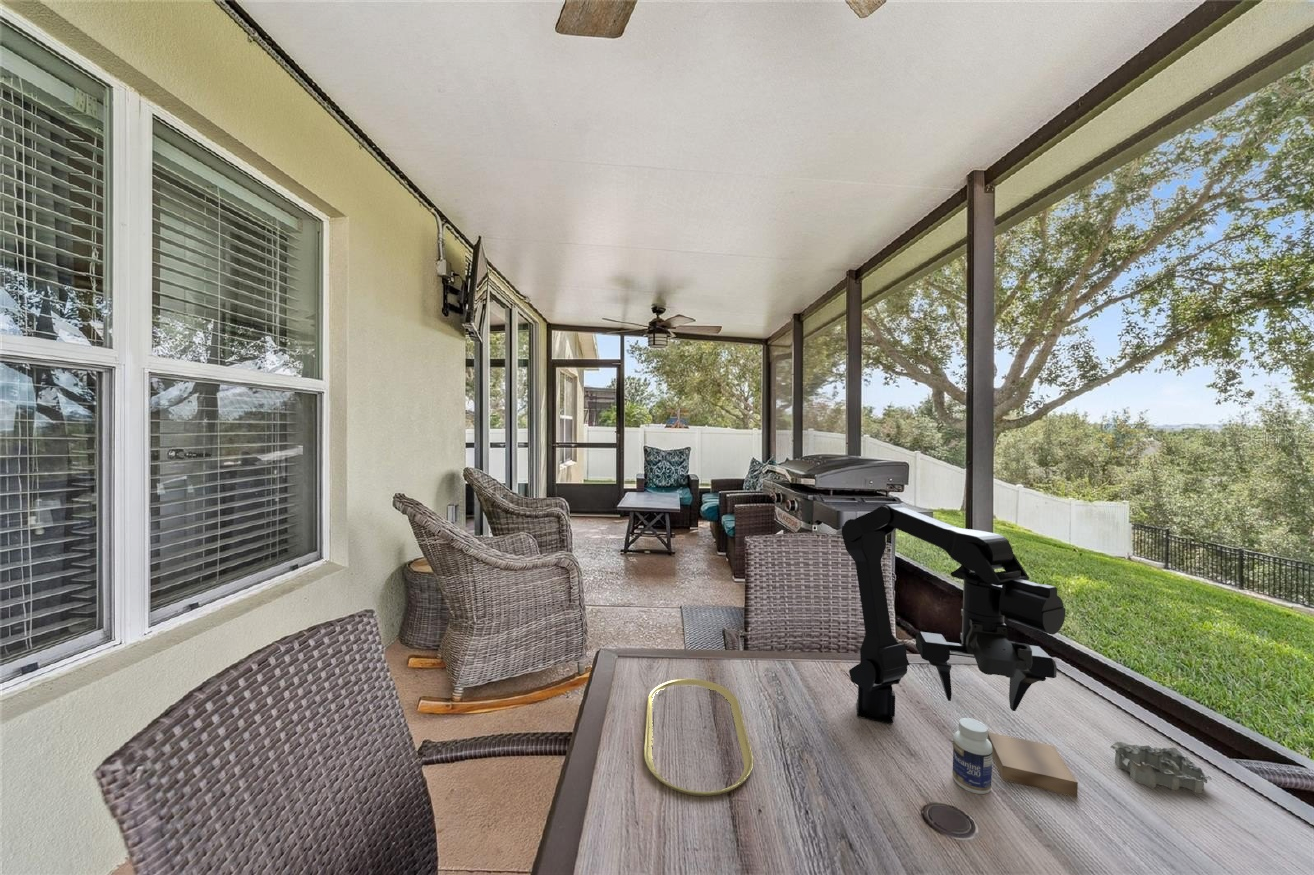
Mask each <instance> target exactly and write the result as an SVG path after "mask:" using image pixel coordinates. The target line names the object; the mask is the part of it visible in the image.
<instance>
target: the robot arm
mask: <svg viewBox="0 0 1314 875" xmlns="http://www.w3.org/2000/svg"><path fill="white" fill-rule="evenodd" d="M895 530H898V531H901V532H903V533H905V534H908V535H910V536H912V537H914V538H917V539H919V540H921V541H924V542H926V543H929V544H931V545H933V546H936V547H938V548H940V549H941V550H943V551H945V552H946V553H947V554H948V555H949V557H950V559H951V560H954V561H955V562H956V563H958V564H959V565H960V566H959V567H958V568H957V569H955V570H953V571H952V572H950V576H951V577H952V578H957V579H960V580H963V588H962V589H963V593H962V594H963V595H962V596H963V597H962V608H961V609H960V611H961V612H960V616H962V625H961V632H960V634H959V635H960V637H959V639H960V640H961V643H958V642H949V641H947V640H946V639H945V637H944V636H943V634H941V633H933V632H925V631H919V632H918V633H917V634H916V636H915V648H916V649H917V651H918V653H919V655H920V657H921V659H923V660H924V661H928V662H929V664H930V665H932V666H933V667H936V670H937V672H938V676H939V678H940V682H941V685H942V688H943V691H944V694H945V697H946V699H947V701H948V702H951V701H952V682H951V669H952V665H951V663H950V662H949V660H950V659H951V658H950V657H951V656H956V657H957V656H958V657H965V658H972V659H975V661H976V664H977V668H978V671H980V672H981V673H982V674H985V675H989V676H992V675H995V676H1001V677H1006V678H1009V688H1008V689H1009V691H1008V697H1009V698H1008V699H1009V700H1008V702H1009V708H1010V710H1011V711H1012V712H1016V711H1017V709H1018V707H1019V705H1020V703H1021V702H1022V699H1023V698H1024V696H1025V694H1026V693H1027V691H1028V690H1029V688H1030V687H1031V686H1032V685H1033V684H1034V683H1037V682H1045V681H1047V678H1049V679H1055V678H1057V670H1058V669H1057V668H1058V667H1057V663H1056V661H1055V659H1053V658H1052V656H1050V655H1049V654H1048V653H1047V652H1046V651H1045V650H1044V649H1043V648H1041V646H1039V645H1030V644H1028V643H1019V642H1015V641H1011V640H1010V638H1009V635H1008V628H1007V627H1008V625H1007V624H1006V623H1005V618H1006V620H1008V621H1010V622H1012V623H1015V624H1016V623H1017V624H1019V625H1021V626H1025V627H1027V628H1031V629H1034V630H1037V631H1040V632H1043V633H1046V634H1048V635H1052V636H1053V635H1055V634H1057V633H1058V632H1059V631H1060V630H1061V629H1062V627H1063V625H1064V622H1065V620H1066V619H1065V618H1066V610H1067V609H1066V608H1065V607H1064V602H1063V600H1062V598H1061V596H1059V595H1058V587H1057V586H1054V585H1051V584H1050V585H1049V584H1044V583H1043V584H1041V583H1038V582H1034V581H1030V577H1029V575H1028V573H1027V572H1026V570H1025V569H1024V568H1023V566H1022V565H1021V563H1020V561H1019V560H1018V559H1017V557H1016V555H1015V553H1014V551H1013V547H1012V545H1011V544H1010V542H1009V539H1008V538H1006V536H1003V535H1002V534H999V533H994V532H989V531H986V530H985V531H984V530H980V529H979V530H978V529H971V528H969V529H968V528H964V527H963V528H962V527H958V526H955V525H952V524H949V523H947V522H944V521H941V520H939V519H936V518H934V517H931V516H928V515H926V514H923V513H920V512H919V511H915V510H913V509H909V508H907V507H906V506H903V505H902V504H900V503H890V504H888V503H887V504H882V505H880V506H879V507H877V508H875V509H874V510H871V511H870V512H867V513H865V514H862V515H860V516H857V517H856V518H850V519H847V520H846V521H845V522H844V523H843V525H842V526H841V535H842V541H843V543H844V547H845V550H846V551H847V553H848V554H849V556H850V557H851V559H852V560H853V561H854V564H855V568H856V570H855V571H856V575H857V576H856V577H857V583H858V590H859V596H860V603H861V604H860V605H861V610H862V617H863V624H864V630H865V635H864V638H863V640H862V643H861V646H860V648H859V649H860V650H859V654H860V655H859V656H860V660H859V663H858V664H856V665H854V666H853V667H852V668H850V669H849V670H848V674H849V677H850V681H851V682H852V683H853V684H855V685H857V699H856V717H858V718H860V719H861V718H862V719H867V720H872V721H877V722H881V723H886V724H889V725H891V724H892V725H893V723H894V722H893V721H894V719H893V718H894V717H896V716H895V715H896V694H895V693H896V692H895V691H894V690H893V685H899V684H900V682H901V679H902V678H904V677H905V675H907V674H908V666H910V662H909V660H908V657H907V647H906V644H905V643H899V642H898V640H897V638H896V637H895V636H894V634H893V632H892V625H891V619H890V612H889V605H888V599H887V594H886V593H887V592H886V585H885V581H884V573H883V568H882V566H883V565H882V559H883V557H884V553H885V551H886V548H887V538H886V536H889V535H890V534H892V533H893V532H895ZM1000 569H1003V570H1001V571H996V570H1000Z"/></svg>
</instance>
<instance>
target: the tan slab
mask: <svg viewBox="0 0 1314 875" xmlns="http://www.w3.org/2000/svg"><path fill="white" fill-rule="evenodd" d="M987 739H988V740H989V741H990V743H991V744H992V750H993V751H992V760H993V761H994V764H995V766H996V768H997V770H998V773H999V776H1000V777H1001V780H1002V781H1006V782H1010V783H1013V784H1014V783H1015V784H1018V785H1022V786H1025V787H1026V786H1027V787H1031V788H1036V789H1040V790H1044V791H1047V792H1048V791H1049V792H1052V793H1057V794H1062V795H1066V796H1070V797H1074V798H1078V794H1079V793H1078V788H1079V787H1078V786H1079V785H1078V784H1079V782H1078V780H1077V779H1076V777H1075V776H1074V774H1073V773H1072V771H1071V769H1070V768H1069V767H1068V765H1067V763H1066V762H1065V761H1064V759H1063V757H1062V756H1061V755H1060V753H1059V750H1057V748H1056V747H1055V745H1052V744H1049V743H1044V742H1038V741H1034V740H1028V739H1024V738H1020V737H1014V736H1010V735H1006V734H1005V735H1004V734H1001V733H996V732H995V733H994V732H992V731H991V732H990V731H988V737H987Z"/></svg>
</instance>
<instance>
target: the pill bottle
mask: <svg viewBox="0 0 1314 875" xmlns="http://www.w3.org/2000/svg"><path fill="white" fill-rule="evenodd" d="M988 732H989V728H988V726H987V725H986V724H984V723H983V722H981V721H980V720H977V719H974V718H969V717H963V718H962V717H961V718H960V719H959V720H958V730H957V731H956V732H954V733H953V734H954V735H953V743H952V744H953V747H952V748H953V750H952V778H953V780H954V782H955V784H957V785H958V786H960V788H962V789H964V790H965V791H968V792H969V793H974V794H977V795H983V794H984V795H985V794H988V793H989V792H991V789H992V779H993V778H992V774H993V772H992V771H993V757H992V751H993V750H992V744H991V743H990V741H989V740H988V739H987V737H988Z"/></svg>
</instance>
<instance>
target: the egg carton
mask: <svg viewBox="0 0 1314 875" xmlns="http://www.w3.org/2000/svg"><path fill="white" fill-rule="evenodd" d="M1110 749H1111V750H1115V751H1114V752H1115V754H1114V756H1115V757H1114V764H1115V766H1116V767H1117V768H1119V769H1122V770H1124V771H1127V772H1129V774H1130V777H1129V778H1130V779H1131V780H1133V781H1134V782H1136V783H1139V784H1142V785H1143V786H1146V787H1148V788H1155V789H1156V786H1157V785H1161V786H1164V787H1167V788H1168V789H1170V790H1172V791H1173V790H1174V791H1178V790H1179V788H1180V787H1181V788H1185V789H1189V790H1191V791H1193V792H1194V793H1198V794H1199V793H1200V794H1201V793H1203V790H1204V789H1205V784H1207V783H1208V780H1210V781H1211V780H1212V778H1211V776H1209V775H1208V776H1207V775H1205V773H1204V772H1203V770H1202V768H1201V767H1199V766H1197V765H1195V763H1194V762H1193V761H1192V760H1190V759H1189V757H1188V756H1186V757H1185V756H1184V755H1183V754H1182V752H1181V751H1180V750H1178V748H1176V747H1174V746H1173V747H1167V748H1165V747H1164V748H1160V747H1157V746H1155V747H1152V746H1150V745H1139V744H1128V743H1125V742H1122V741H1115V742H1114V743H1113V744H1112V745H1111V746H1110Z"/></svg>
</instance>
